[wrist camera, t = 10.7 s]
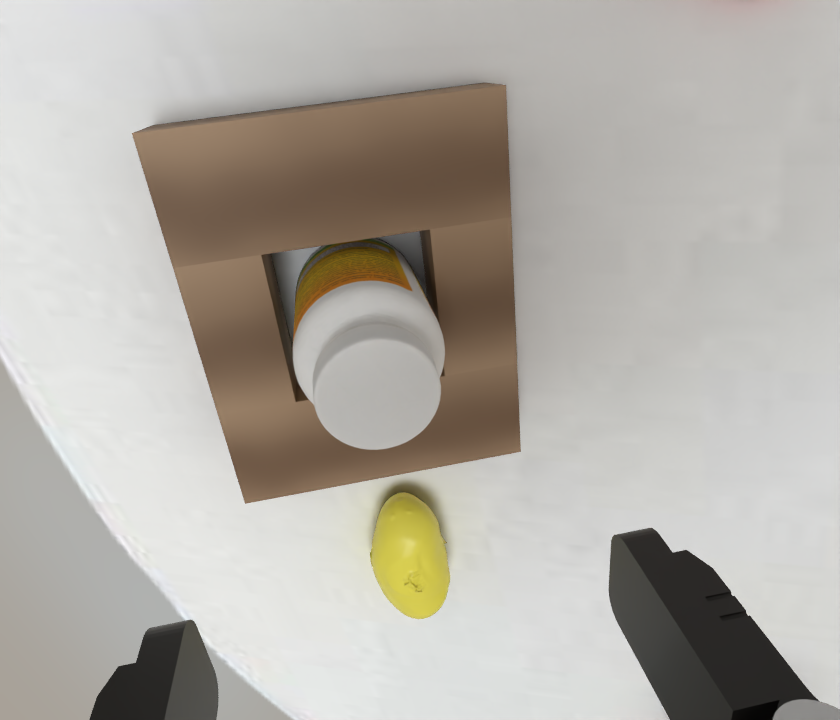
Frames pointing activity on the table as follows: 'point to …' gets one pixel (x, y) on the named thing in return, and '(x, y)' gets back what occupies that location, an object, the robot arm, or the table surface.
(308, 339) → the supplement bottle
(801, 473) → the table surface
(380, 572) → the yellow potato
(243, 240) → the socket plate
